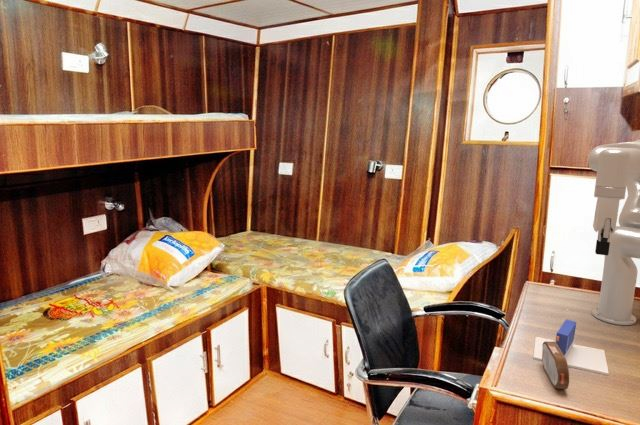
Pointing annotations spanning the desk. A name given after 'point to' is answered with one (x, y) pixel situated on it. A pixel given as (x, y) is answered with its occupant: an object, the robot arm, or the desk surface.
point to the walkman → (566, 336)
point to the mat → (578, 357)
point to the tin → (555, 365)
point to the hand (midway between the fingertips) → (601, 253)
